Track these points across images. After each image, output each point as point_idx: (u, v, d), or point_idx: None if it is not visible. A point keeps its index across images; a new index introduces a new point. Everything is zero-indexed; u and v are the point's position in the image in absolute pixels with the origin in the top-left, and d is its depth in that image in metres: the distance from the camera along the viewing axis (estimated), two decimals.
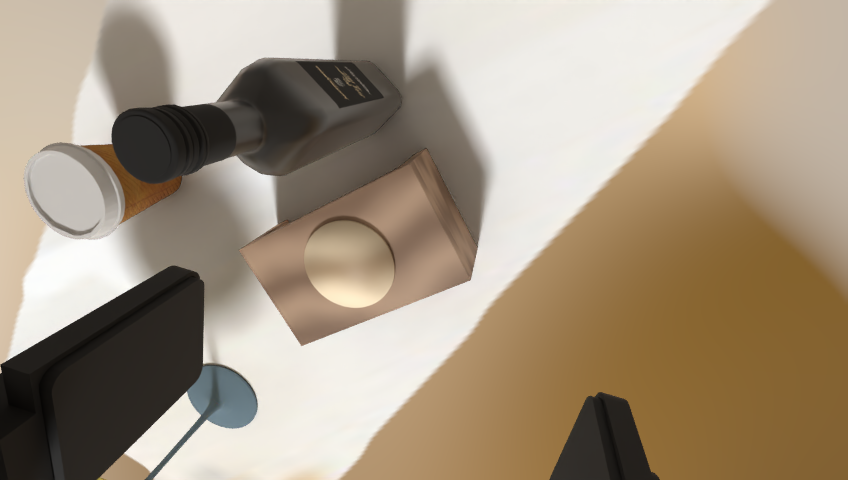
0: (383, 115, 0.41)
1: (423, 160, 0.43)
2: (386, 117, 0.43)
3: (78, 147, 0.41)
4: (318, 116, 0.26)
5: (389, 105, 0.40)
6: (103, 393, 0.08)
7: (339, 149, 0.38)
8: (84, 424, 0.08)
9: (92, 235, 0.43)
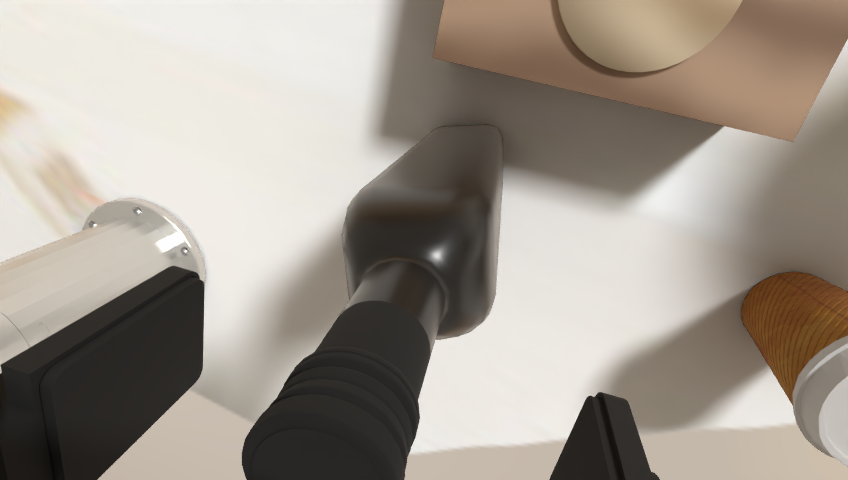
0: (436, 135, 0.30)
1: None
2: (451, 129, 0.32)
3: (799, 424, 0.27)
4: None
5: (422, 139, 0.30)
6: (103, 393, 0.08)
7: (486, 145, 0.25)
8: (84, 424, 0.08)
9: None
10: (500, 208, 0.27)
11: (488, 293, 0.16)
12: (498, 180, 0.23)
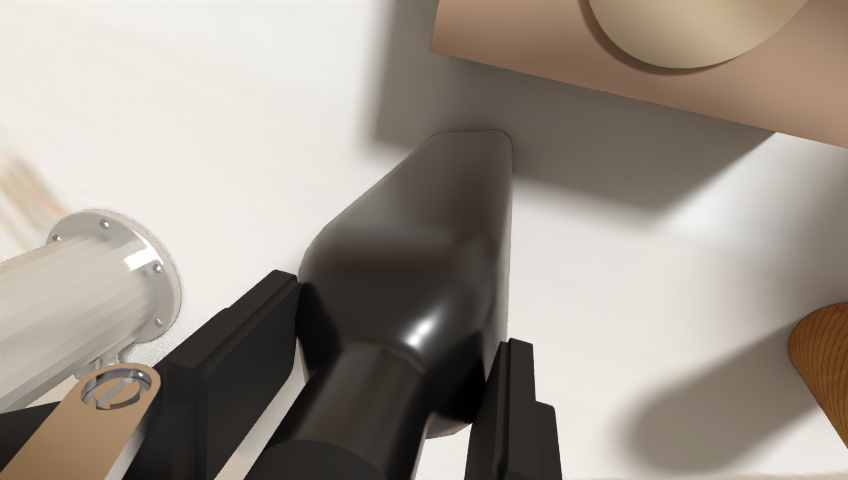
0: (435, 143, 0.26)
1: None
2: (452, 135, 0.28)
3: None
4: (302, 260, 0.12)
5: None
6: (236, 386, 0.09)
7: (493, 158, 0.21)
8: (222, 414, 0.09)
9: None
10: (510, 233, 0.22)
11: None
12: None
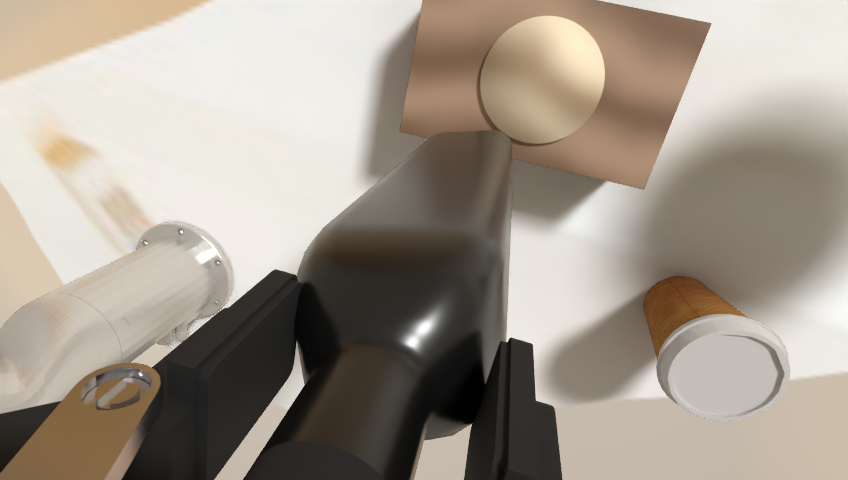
0: (434, 143, 0.26)
1: None
2: (452, 136, 0.28)
3: (661, 385, 0.38)
4: (302, 261, 0.12)
5: (418, 148, 0.26)
6: (236, 387, 0.09)
7: (493, 159, 0.21)
8: (222, 415, 0.09)
9: (754, 333, 0.34)
10: None
11: None
12: (508, 205, 0.18)
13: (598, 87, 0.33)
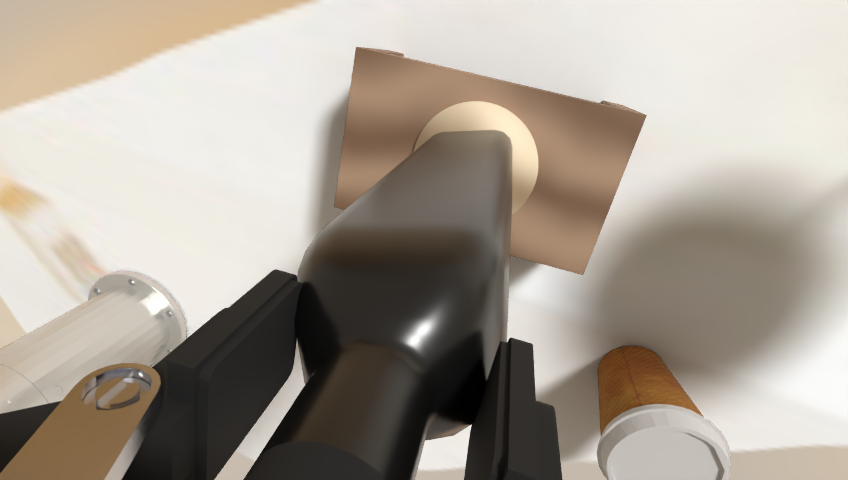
0: (435, 143, 0.26)
1: None
2: (452, 135, 0.28)
3: (602, 470, 0.37)
4: (302, 261, 0.12)
5: None
6: (236, 386, 0.09)
7: (493, 158, 0.21)
8: (222, 414, 0.09)
9: (692, 430, 0.33)
10: (510, 233, 0.22)
11: None
12: None
13: (532, 174, 0.32)
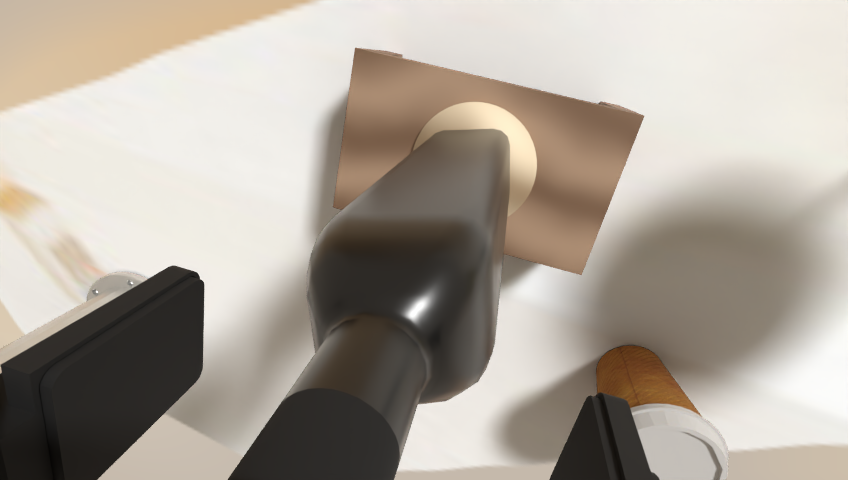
0: (435, 141, 0.27)
1: None
2: (453, 134, 0.29)
3: None
4: (314, 246, 0.14)
5: (420, 145, 0.27)
6: (103, 393, 0.08)
7: (489, 156, 0.22)
8: (84, 424, 0.08)
9: (690, 429, 0.33)
10: (505, 226, 0.24)
11: (484, 349, 0.13)
12: (502, 199, 0.19)
13: (530, 174, 0.32)
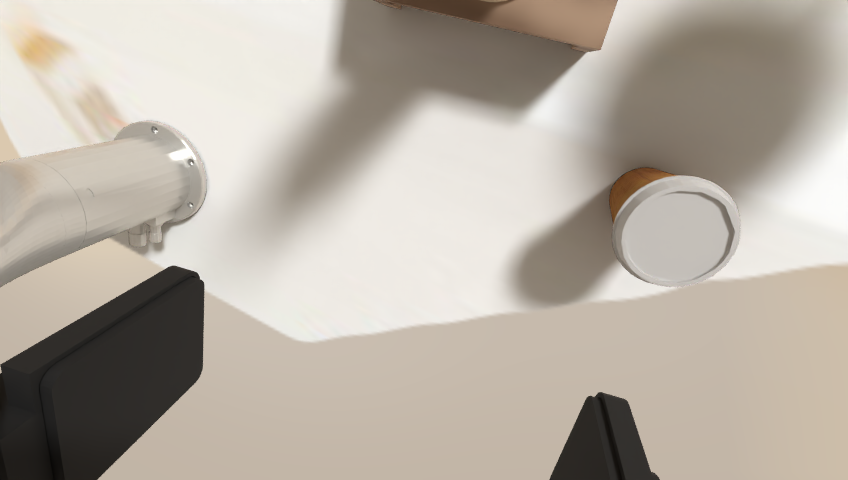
0: None
1: None
2: None
3: (616, 254, 0.38)
4: None
5: None
6: (103, 393, 0.08)
7: None
8: (84, 424, 0.08)
9: (704, 188, 0.34)
10: None
11: None
12: None
13: None
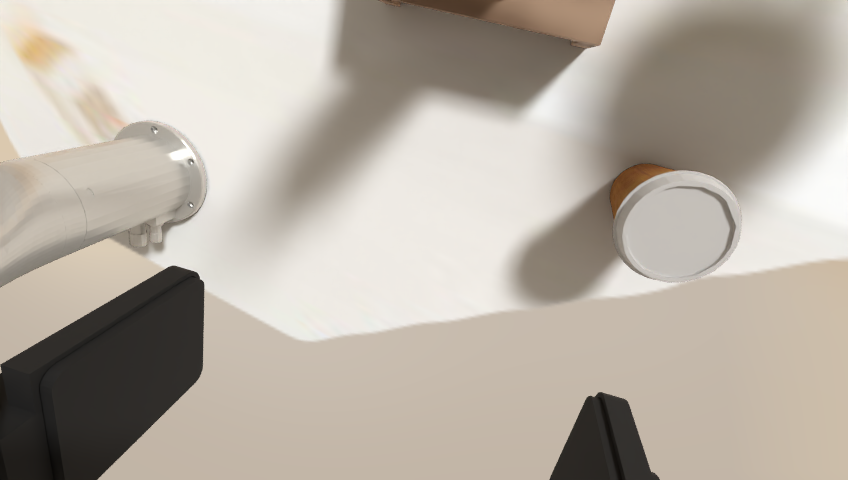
0: None
1: None
2: None
3: (617, 250, 0.38)
4: None
5: None
6: (103, 393, 0.08)
7: None
8: (84, 424, 0.08)
9: (705, 183, 0.34)
10: None
11: None
12: None
13: None
